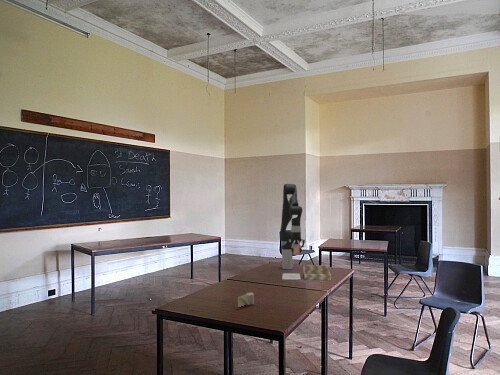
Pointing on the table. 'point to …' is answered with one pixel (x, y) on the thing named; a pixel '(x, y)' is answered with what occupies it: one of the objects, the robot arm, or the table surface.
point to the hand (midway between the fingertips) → (296, 252)
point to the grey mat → (291, 276)
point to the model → (246, 299)
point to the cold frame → (316, 273)
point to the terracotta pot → (296, 249)
